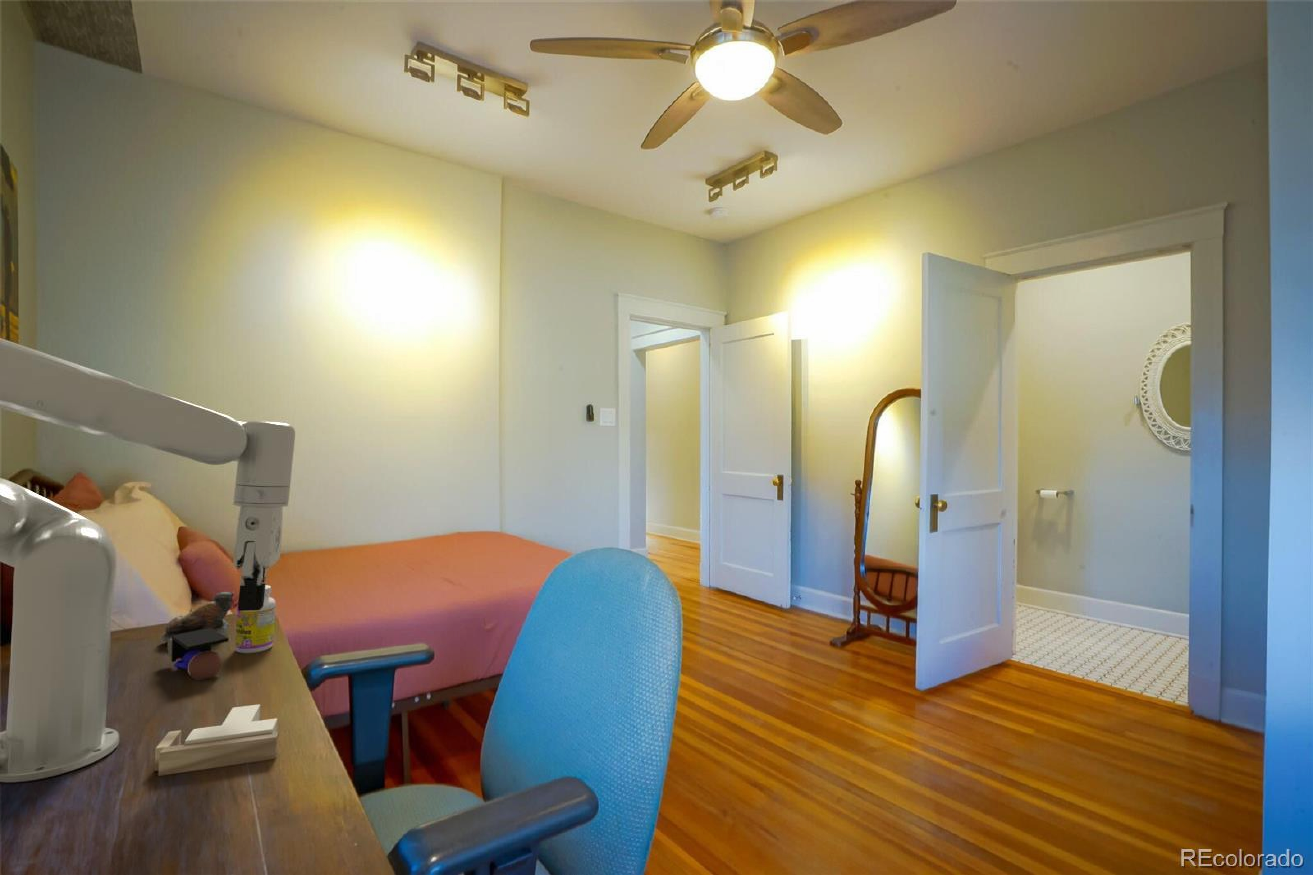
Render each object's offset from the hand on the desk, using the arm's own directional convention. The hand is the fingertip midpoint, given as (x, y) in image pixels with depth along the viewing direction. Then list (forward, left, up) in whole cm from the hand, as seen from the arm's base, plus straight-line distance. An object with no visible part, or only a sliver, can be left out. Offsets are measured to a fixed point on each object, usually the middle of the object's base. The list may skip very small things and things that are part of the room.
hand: (250, 608), depth 95 cm
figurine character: (+3, +25, -17) cm, 31 cm away
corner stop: (-8, -12, -17) cm, 22 cm away
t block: (-6, -10, -17) cm, 20 cm away
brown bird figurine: (+11, +44, -17) cm, 49 cm away
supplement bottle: (+15, +29, -17) cm, 37 cm away
